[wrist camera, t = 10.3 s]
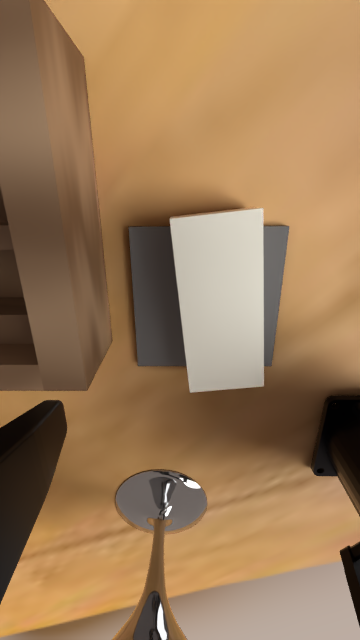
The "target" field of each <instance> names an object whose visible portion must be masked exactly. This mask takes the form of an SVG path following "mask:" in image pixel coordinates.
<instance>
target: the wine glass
mask: <svg viewBox="0 0 360 640" xmlns="http://www.w3.org/2000/svg"><path fill="white" fill-rule="evenodd" d="M115 504H116V508H117V511H118V513H119V515H120V516H121V517H122V519H123V520H124V521H126V522H127V523H128V524H129V525H131V526H132V527H134V528H136V529H138V530H141V531H144V532H147V533H152V534H154V535H153V545H152V552H151V558H150V564H149V569H148V574H147V578H146V583H145V587H144V590H143V593H142V596H141V598H140V600H139V602H138V604H137V606H136V608H135V610H134V612H133V613H132V615H131V616H130V618H129V619H128V621H127V622H126V623H125V624H124V626H123V627H122V628H121V629H120V630H119V631H118V633H117V634H116V635H115V636H114V638H113V639H112V640H187V638H186V636H185V635H184V633H183V632H182V630H181V628H180V627H179V625H178V624H177V621H176V619H175V617H174V615H173V613H172V611H171V608H170V605H169V602H168V598H167V594H166V587H165V573H164V534H174V533H179V532H182V531H185V530H187V529H189V528H191V527H193V526H194V525H196V524H197V523H198V522H199V521H200V520H201V519H202V517H203V516H204V514H205V512H206V509H207V497H206V494H205V492H204V490H203V489H202V487H201V486H200V485H199V484H198V483H197V482H196V481H194V480H193V479H192V478H190V477H188V476H186V475H184V474H181V473H178V472H174V471H170V470H150V471H144V472H141V473H138V474H136V475H134V476H132V477H130V478H128V479H127V480H126V481H124V482H123V484H122V485H121V486H120V487H119V489H118V491H117V493H116V497H115Z"/></svg>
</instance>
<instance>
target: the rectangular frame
mask: <svg viewBox="0 0 360 640" xmlns="http://www.w3.org/2000/svg"><path fill="white" fill-rule="evenodd" d="M111 343H112V331H111V321H110V311H109V302H108V292H107V282H106V272H105V262H104V252H103V242H102V233H101V223H100V213H99V203H98V193H97V183H96V173H95V164H94V154H93V144H92V134H91V124H90V114H89V104H88V95H87V85H86V75H85V65H84V57H83V56H82V54H81V53H80V51H79V50H78V48H77V47H76V45H75V44H74V43H73V41H72V40H71V38H70V37H69V35H68V34H67V33H66V31H65V30H64V28H63V27H62V25H61V24H60V23H59V21H58V20H57V18H56V17H55V15H54V14H53V13H52V11H51V10H50V8H49V7H48V5H47V4H46V2H45V1H44V0H0V391H87V390H88V388H89V386H90V384H91V382H92V380H93V378H94V376H95V374H96V372H97V370H98V368H99V366H100V364H101V362H102V360H103V358H104V356H105V354H106V352H107V350H108V348H109V346H110V345H111Z"/></svg>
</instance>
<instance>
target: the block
mask: <svg viewBox="0 0 360 640" xmlns="http://www.w3.org/2000/svg"><path fill="white" fill-rule="evenodd" d="M170 227H171V236H172V244H173V253H174V261H175V270H176V278H177V287H178V296H179V304H180V313H181V321H182V330H183V339H184V347H185V356H186V364H187V373H188V381H189V390H190V393H191V392H203V391H215V390H227V389H239V388H251V387H263V386H264V257H263V208H257V207H250V208H241V209H233V210H224V211H216V212H207V213H198V214H190V215H181V216H172V217H171V218H170Z"/></svg>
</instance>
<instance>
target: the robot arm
mask: <svg viewBox="0 0 360 640" xmlns="http://www.w3.org/2000/svg"><path fill="white" fill-rule="evenodd" d="M334 403H336V404H335V405H333V404H334ZM66 433H67V422H66V417H65V412H64V406H63V403H62V402H61V401H60V400H46V401H43V402H42V403H40V404H38V405H37V406H35V407H34V408H32V409H30V410H29V411H27V412H25V413H24V414H22V415H21V416H19V417H17V418H16V419H14V420H13V421H11V422H9V423H8V424H6V425H4V426H3V427H1V428H0V604H1V601H2V599H3V597H4V594H5V592H6V590H7V587H8V585H9V583H10V580H11V578H12V575H13V573H14V571H15V568H16V566H17V564H18V561H19V559H20V557H21V554H22V552H23V550H24V547H25V545H26V543H27V540H28V538H29V536H30V533H31V531H32V529H33V526H34V524H35V522H36V519H37V517H38V515H39V512H40V510H41V508H42V505H43V503H44V501H45V498H46V496H47V493H48V490H49V487H50V485H51V482H52V478H53V475H54V472H55V469H56V466H57V462H58V459H59V456H60V453H61V449H62V446H63V443H64V440H65V437H66ZM311 469H312V471H313V473H314V474H315V475H316V476H338V478H339V480H340V482H341V484H342V485H343V487H344V489H345V491H346V493H347V494H348V496H349V498H350V500H351V502H352V503H353V505H354V507H355V509H356V511H357V512H358V514H359V516H360V396H330V397H328V398H327V399H326V401H325V404H324V408H323V413H322V418H321V422H320V427H319V432H318V436H317V441H316V445H315V450H314V455H313V459H312V464H311ZM340 555H341V558H342V562H343V565H344V570H345V575H346V578H347V582H348V586H349V589H350V593H351V597H352V600H353V604H354V608H355V611H356V615H357V619H358V622H359V626H360V542H358V543H357V544H355V545H353V546H351V547H350V546H347V547H345V548H343V549H342V550H340Z"/></svg>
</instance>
